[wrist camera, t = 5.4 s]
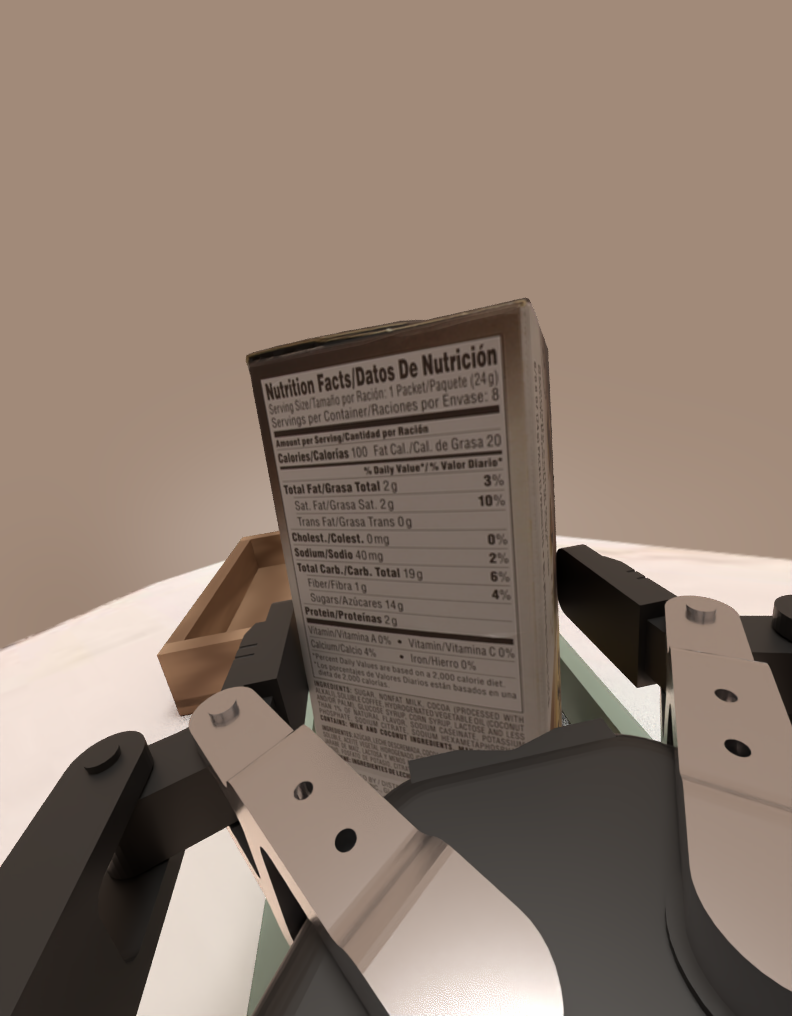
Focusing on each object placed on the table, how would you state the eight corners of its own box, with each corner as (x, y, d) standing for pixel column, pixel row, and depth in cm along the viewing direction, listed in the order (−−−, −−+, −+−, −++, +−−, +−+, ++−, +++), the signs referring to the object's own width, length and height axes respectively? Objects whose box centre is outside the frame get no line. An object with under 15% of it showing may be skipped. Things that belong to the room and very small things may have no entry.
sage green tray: (233, 1537, 6) (169, 1487, 5) (315, 717, 21) (302, 668, 20) (993, 1276, 7) (1052, 1194, 6) (549, 667, 22) (547, 619, 21)
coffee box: (428, 703, 21) (391, 373, 17) (566, 728, 18) (553, 345, 15) (335, 903, 12) (231, 346, 9) (563, 1000, 10) (533, 273, 6)
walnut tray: (180, 716, 22) (157, 655, 21) (252, 575, 40) (242, 537, 38) (493, 651, 24) (488, 590, 22) (432, 542, 41) (427, 504, 40)
